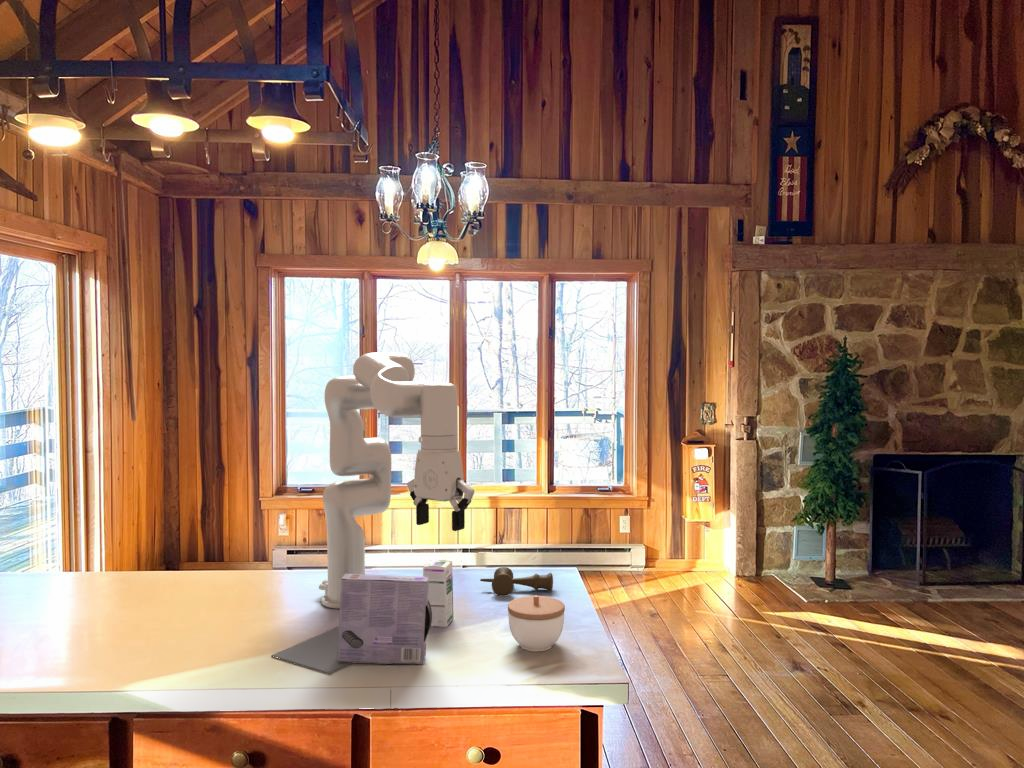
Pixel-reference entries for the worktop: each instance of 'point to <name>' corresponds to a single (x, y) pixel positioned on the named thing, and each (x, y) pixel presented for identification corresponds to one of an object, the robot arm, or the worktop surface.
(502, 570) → the kendama
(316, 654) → the rubber mat
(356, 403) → the robot arm
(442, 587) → the syrup box
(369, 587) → the cake pan box
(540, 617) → the lidded bowl
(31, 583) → the worktop surface
